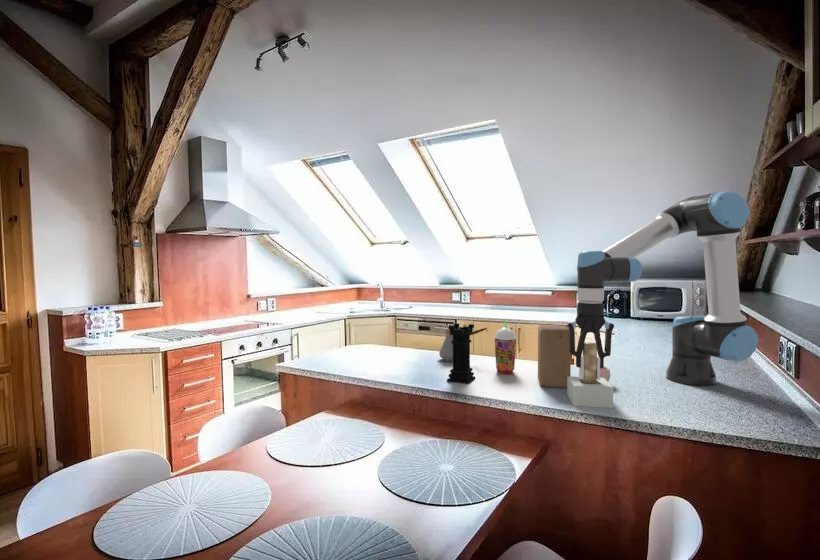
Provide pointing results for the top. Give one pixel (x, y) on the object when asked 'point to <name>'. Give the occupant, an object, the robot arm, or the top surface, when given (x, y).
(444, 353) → the coffee pot
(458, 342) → the chess piece
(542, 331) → the wooden block
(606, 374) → the mug
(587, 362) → the birch peg
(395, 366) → the top surface
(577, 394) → the socket block
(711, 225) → the robot arm
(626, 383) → the top surface
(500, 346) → the smoothie
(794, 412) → the top surface
